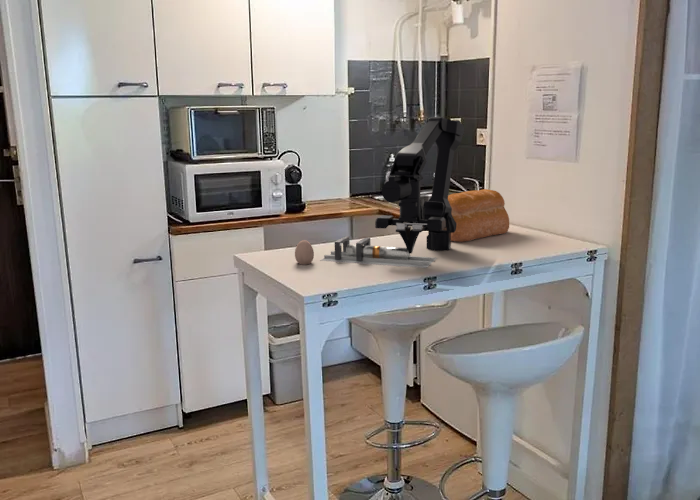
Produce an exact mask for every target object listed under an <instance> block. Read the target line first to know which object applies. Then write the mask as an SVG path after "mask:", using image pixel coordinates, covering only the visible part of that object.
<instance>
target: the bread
mask: <svg viewBox="0 0 700 500" xmlns="http://www.w3.org/2000/svg"><path fill="white" fill-rule="evenodd" d="M448 201H449V203H450V206H451V208H452V216H453V218H454V220H455V222H456V224H457V225H456V231H455V232H454V233H451V242H459V243H460V242H461V243H462V242H469V241H474V240H477V239H484V238H486V237H491V236H497V235H503V234H507V232H508V231H509V230H510V218H509V214H508V212H507V210H506V208H505V205H506V203H505V200H504V197H503V196H502V194H501V193H500V192H499V191H497V190H494V189H486V188H484V189H477V190H468V191H462V192H459V193H451V194H448Z"/></svg>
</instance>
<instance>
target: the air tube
mask: <svg viewBox="0 0 700 500" xmlns="http://www.w3.org/2000/svg"><path fill="white" fill-rule="evenodd" d="M346 255H347V256H352V257H356V244H348V245H347V247H346ZM410 256H411V254H410V253H409V252H408V250H407V247H397V246H383V245H382V246H381V245H379V246H378V245H370V246H367V245H363V257H368V258H383V259H398V260H409V258H410Z"/></svg>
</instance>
